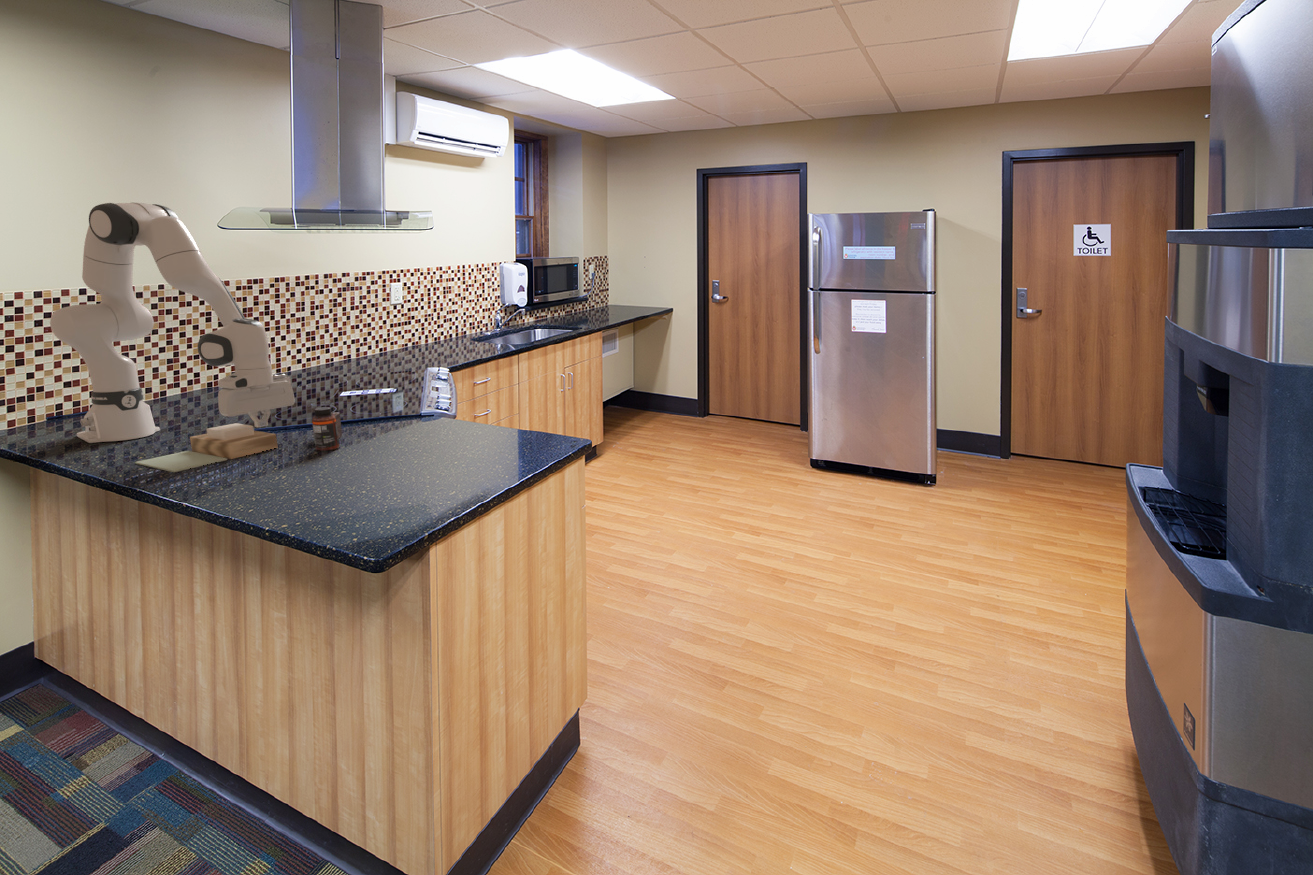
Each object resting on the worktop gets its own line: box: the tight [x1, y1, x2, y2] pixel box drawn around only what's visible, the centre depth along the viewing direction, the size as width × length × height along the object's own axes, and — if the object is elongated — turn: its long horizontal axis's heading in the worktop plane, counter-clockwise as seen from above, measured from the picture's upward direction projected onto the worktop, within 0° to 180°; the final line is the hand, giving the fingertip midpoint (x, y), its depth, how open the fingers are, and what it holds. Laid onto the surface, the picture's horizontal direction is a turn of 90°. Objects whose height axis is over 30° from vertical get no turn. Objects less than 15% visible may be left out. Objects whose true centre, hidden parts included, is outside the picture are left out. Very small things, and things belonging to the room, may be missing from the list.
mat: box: [134, 450, 228, 473], centre depth 184 cm, size 18×13×1 cm
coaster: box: [206, 422, 255, 440], centre depth 194 cm, size 8×8×2 cm
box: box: [313, 412, 343, 440], centre depth 206 cm, size 6×6×7 cm
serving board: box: [189, 430, 279, 460], centre depth 195 cm, size 18×13×4 cm
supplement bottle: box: [311, 406, 340, 452], centre depth 194 cm, size 6×6×11 cm
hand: (261, 426), depth 202 cm, fingers closed
